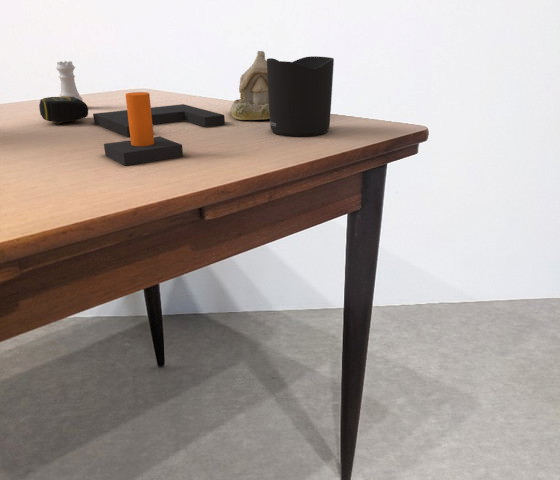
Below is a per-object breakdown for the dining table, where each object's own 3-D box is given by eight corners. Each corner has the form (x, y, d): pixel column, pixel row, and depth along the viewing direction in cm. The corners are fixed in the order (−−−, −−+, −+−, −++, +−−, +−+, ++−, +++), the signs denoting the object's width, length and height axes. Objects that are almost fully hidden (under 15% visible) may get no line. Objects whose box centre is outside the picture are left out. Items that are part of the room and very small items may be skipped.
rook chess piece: (54, 108, 110) (47, 61, 107) (77, 105, 113) (71, 60, 110) (65, 111, 107) (57, 63, 104) (88, 108, 110) (82, 61, 107)
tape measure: (91, 123, 96) (87, 99, 95) (46, 127, 93) (42, 102, 92) (80, 117, 102) (77, 94, 100) (38, 121, 99) (34, 97, 97)
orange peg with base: (124, 165, 71) (117, 99, 68) (105, 155, 76) (97, 93, 72) (183, 156, 75) (178, 93, 71) (161, 147, 79) (155, 88, 76)
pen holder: (279, 124, 94) (278, 55, 90) (338, 126, 91) (340, 56, 87) (259, 135, 86) (257, 61, 82) (323, 139, 83) (324, 62, 79)
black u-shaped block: (127, 137, 86) (126, 126, 85) (94, 123, 96) (92, 113, 96) (225, 124, 94) (224, 114, 94) (184, 112, 105) (183, 104, 104)
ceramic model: (232, 107, 109) (230, 48, 105) (294, 107, 109) (294, 47, 105) (226, 121, 96) (222, 55, 92) (296, 121, 96) (296, 54, 92)
